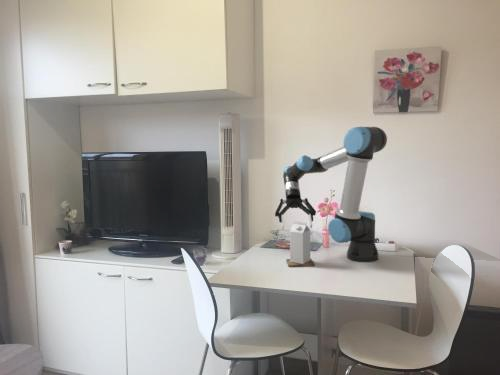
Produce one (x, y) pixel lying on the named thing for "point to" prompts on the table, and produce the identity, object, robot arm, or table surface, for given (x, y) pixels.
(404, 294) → the table surface
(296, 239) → the milk carton
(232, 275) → the table surface
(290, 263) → the walnut board
